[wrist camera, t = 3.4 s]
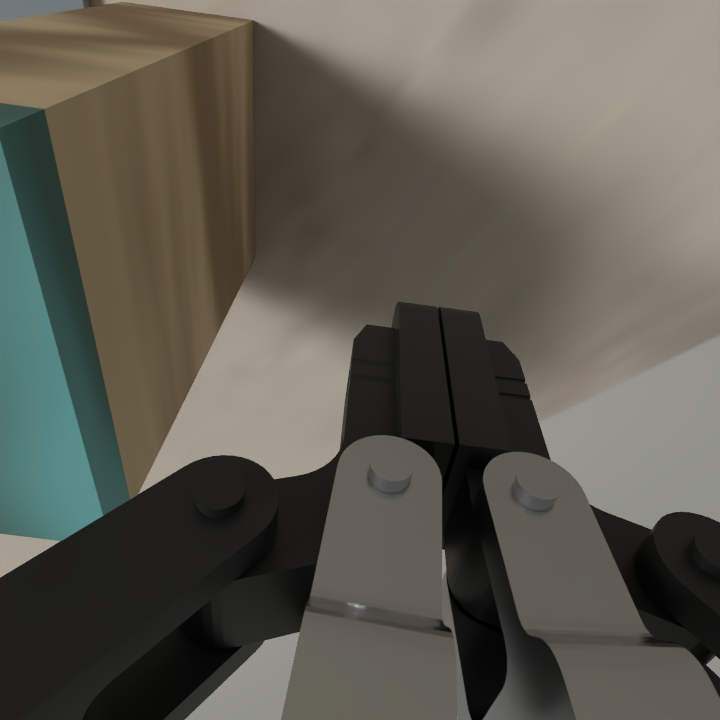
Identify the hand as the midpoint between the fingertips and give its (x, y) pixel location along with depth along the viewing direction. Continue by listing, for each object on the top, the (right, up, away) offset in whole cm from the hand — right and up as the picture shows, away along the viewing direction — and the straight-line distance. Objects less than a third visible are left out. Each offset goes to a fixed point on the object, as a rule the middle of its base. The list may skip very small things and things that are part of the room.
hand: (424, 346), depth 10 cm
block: (-7, +7, +8) cm, 13 cm away
